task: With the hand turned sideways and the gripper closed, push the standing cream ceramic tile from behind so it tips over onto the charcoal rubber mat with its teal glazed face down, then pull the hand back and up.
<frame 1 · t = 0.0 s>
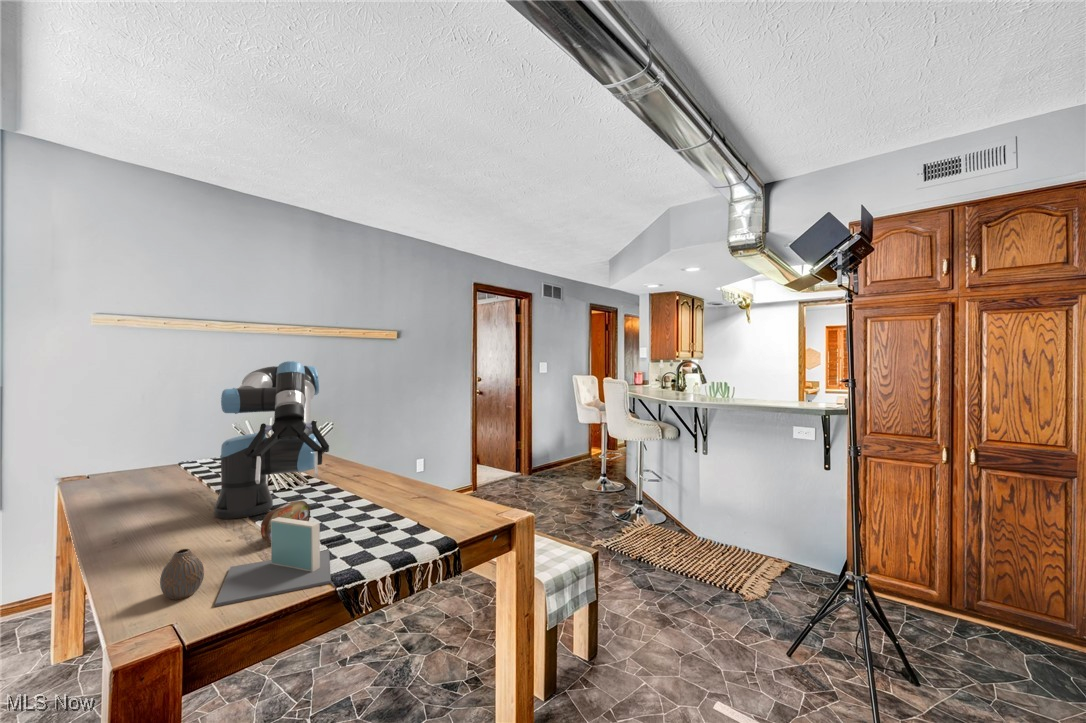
hand: (287, 478, 120), 15 cm above the table, tool tilted 35°, fingers open, 13 cm apart
mat: (279, 576, 98), on the table
vase: (182, 595, 91), on the table
tin: (286, 537, 120), on the table
tile: (295, 543, 102), point 6 cm above the table, touching mat
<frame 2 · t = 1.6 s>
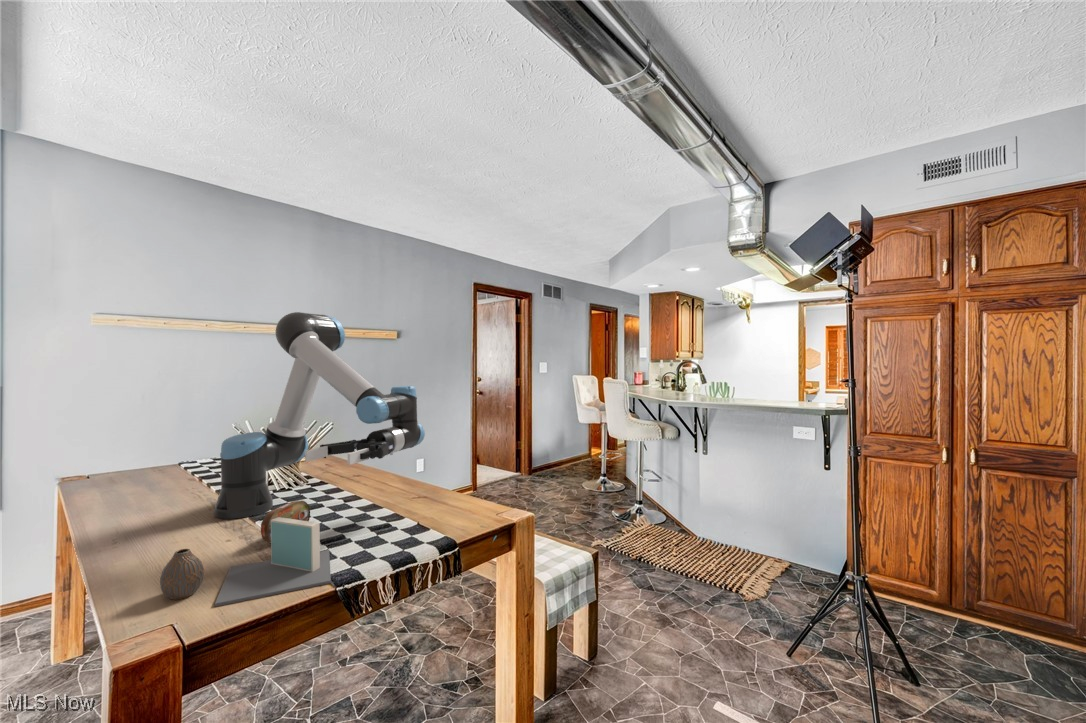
hand: (327, 457, 111), 23 cm above the table, tool horizontal, fingers open, 13 cm apart
nothing on the table moved.
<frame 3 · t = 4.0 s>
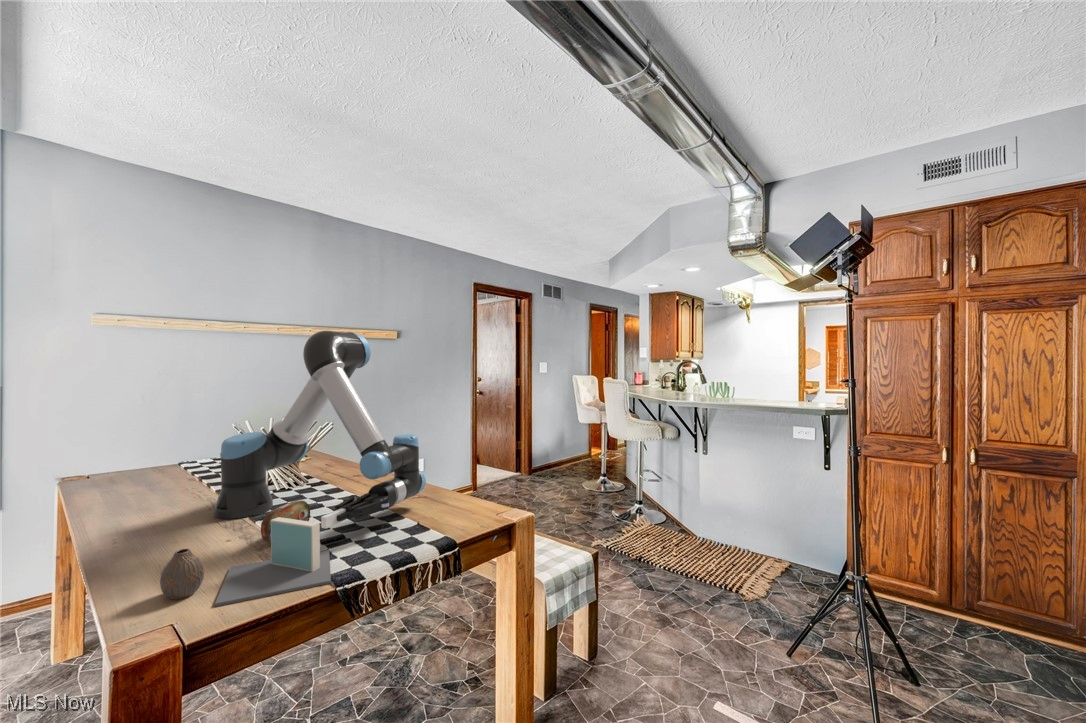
hand: (323, 522, 110), 8 cm above the table, tool horizontal, fingers closed
nothing on the table moved.
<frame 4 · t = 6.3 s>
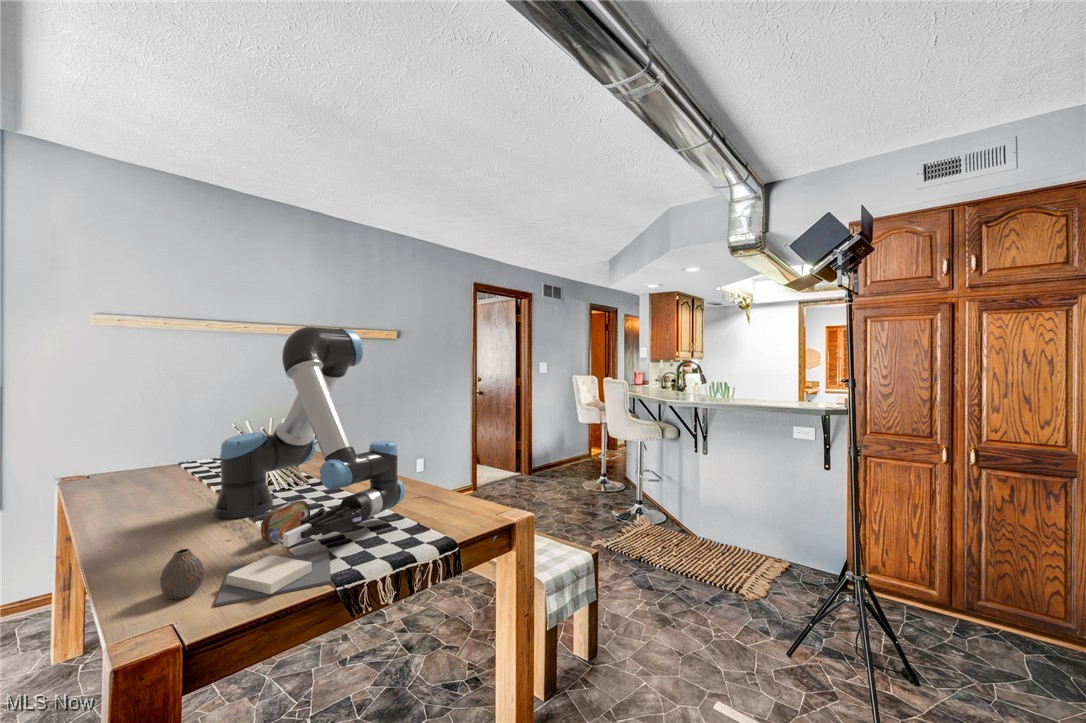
hand: (285, 540, 99), 7 cm above the table, tool horizontal, fingers closed
tile: (270, 573, 96), point 2 cm above the table, tilted 90°, touching mat
everything else where it was.
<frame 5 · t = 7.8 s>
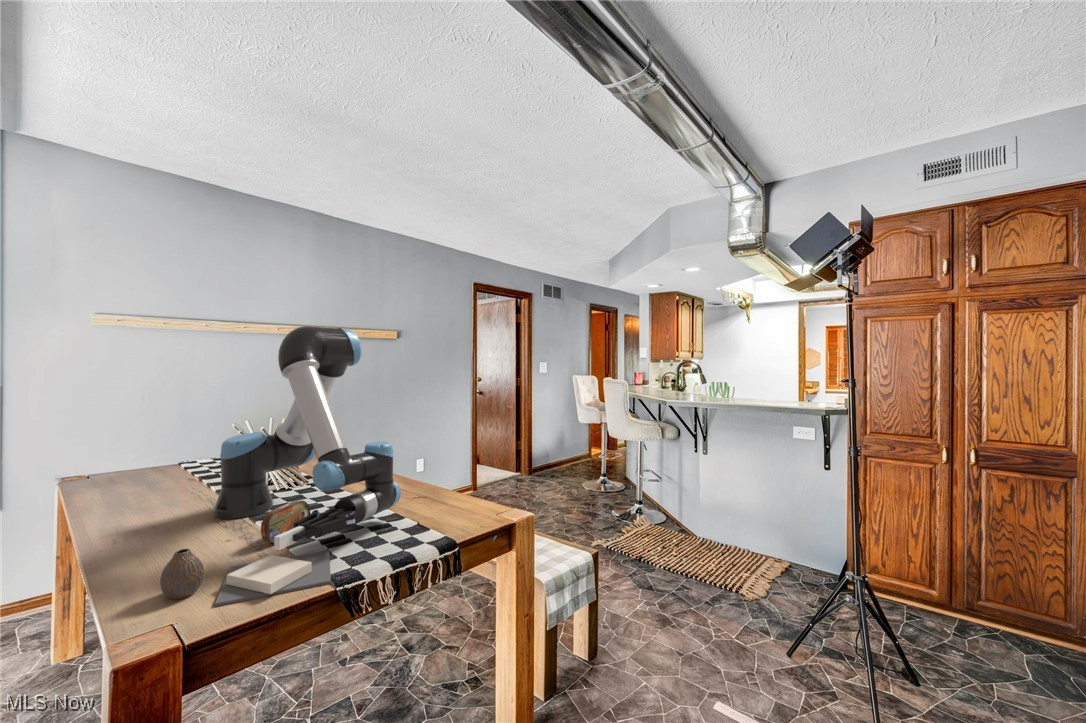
hand: (277, 543, 97), 7 cm above the table, tool horizontal, fingers closed
nothing on the table moved.
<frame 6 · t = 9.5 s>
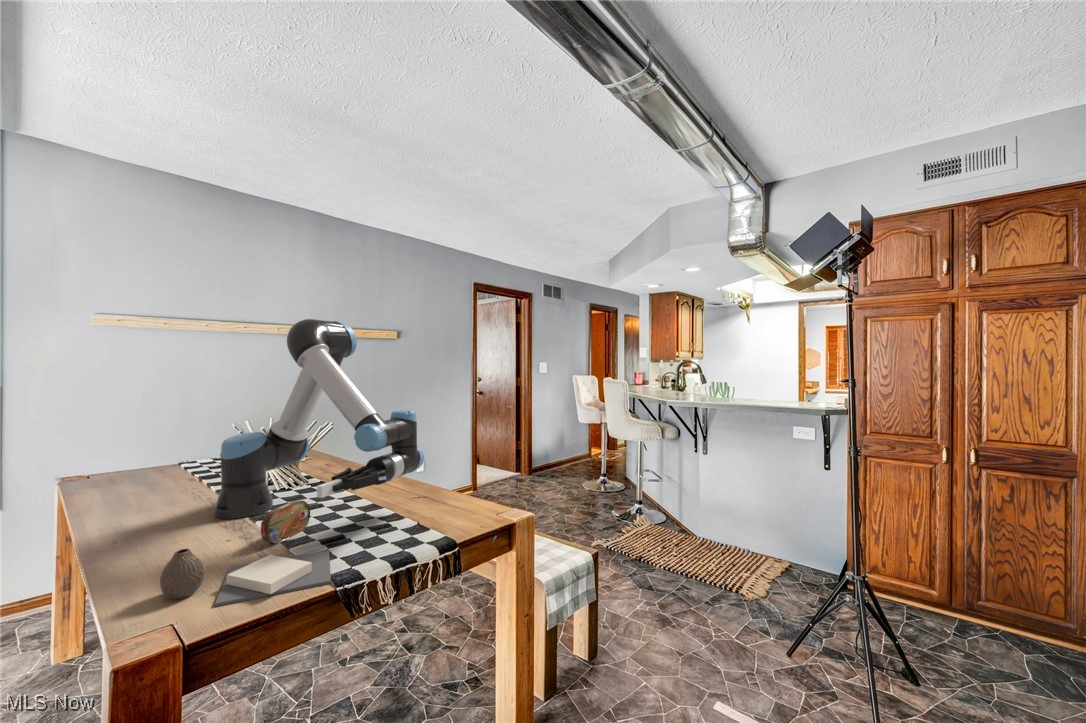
hand: (319, 491, 108), 16 cm above the table, tool horizontal, fingers closed
nothing on the table moved.
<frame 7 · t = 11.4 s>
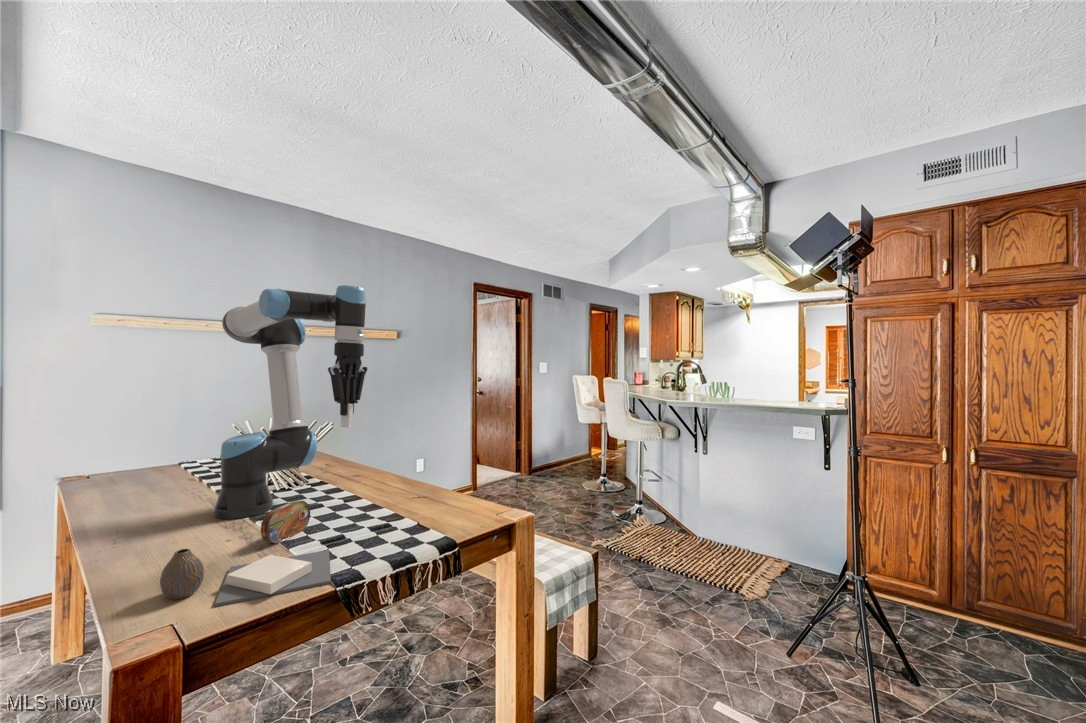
hand: (346, 426, 126), 28 cm above the table, tool pointing down, fingers closed
nothing on the table moved.
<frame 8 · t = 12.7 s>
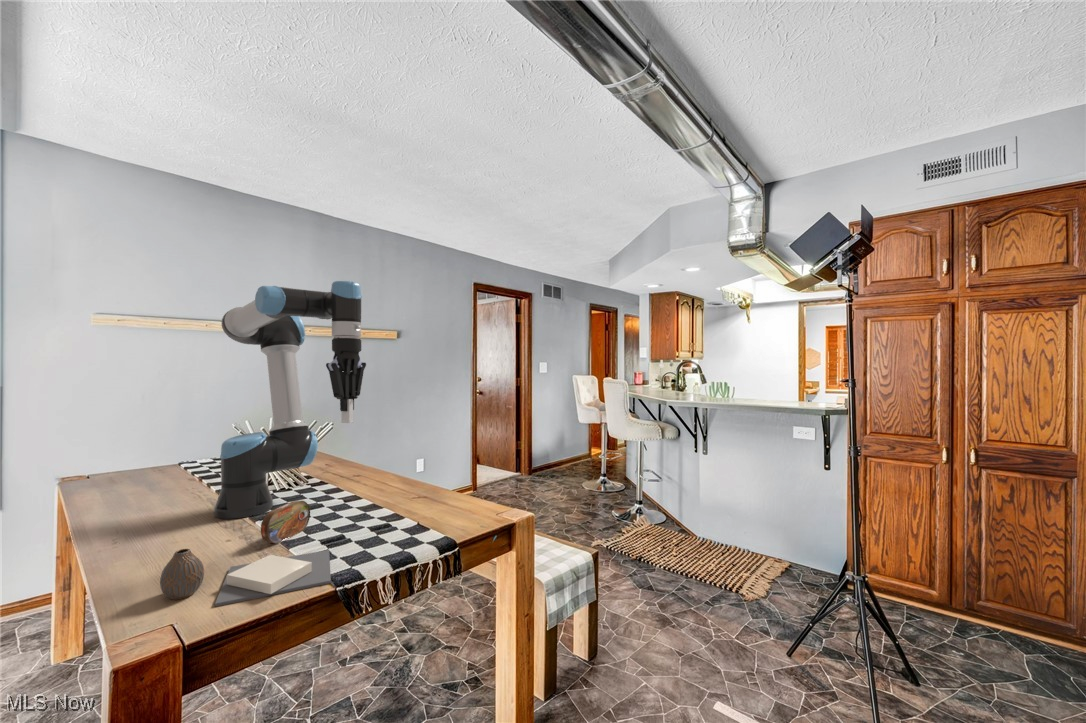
hand: (347, 422, 126), 29 cm above the table, tool pointing down, fingers closed
nothing on the table moved.
at the end: tile tilted 90°; tile inside the target area on the mat (0.6 cm from its centre), point 1.8 cm above the mat's base; tile touching mat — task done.
